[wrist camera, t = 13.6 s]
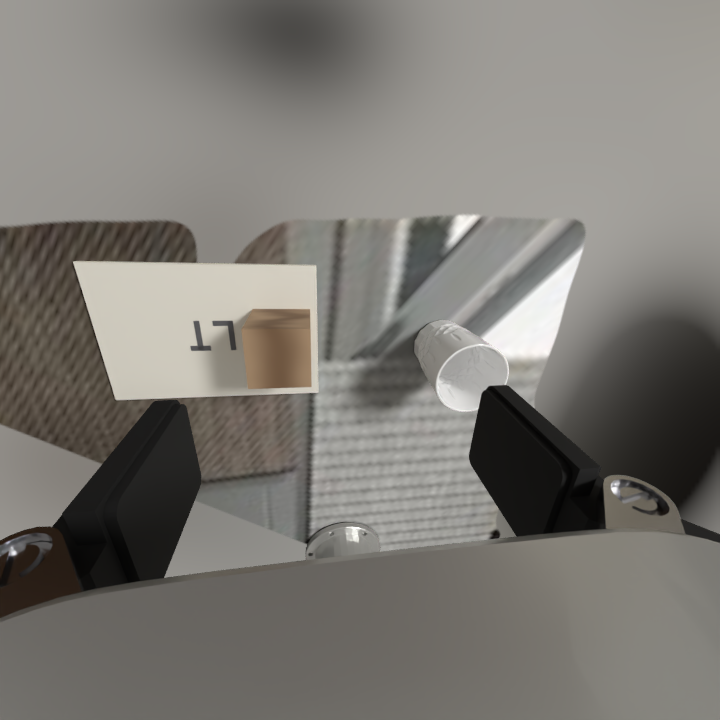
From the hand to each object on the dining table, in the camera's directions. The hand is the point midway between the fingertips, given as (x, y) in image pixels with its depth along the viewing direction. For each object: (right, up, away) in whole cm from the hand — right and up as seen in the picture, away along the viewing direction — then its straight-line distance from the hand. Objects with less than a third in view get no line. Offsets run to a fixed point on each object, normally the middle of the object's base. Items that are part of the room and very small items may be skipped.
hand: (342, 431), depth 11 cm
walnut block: (-8, +5, +28) cm, 30 cm away
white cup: (+11, +4, +33) cm, 35 cm away
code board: (-16, +5, +28) cm, 33 cm away
